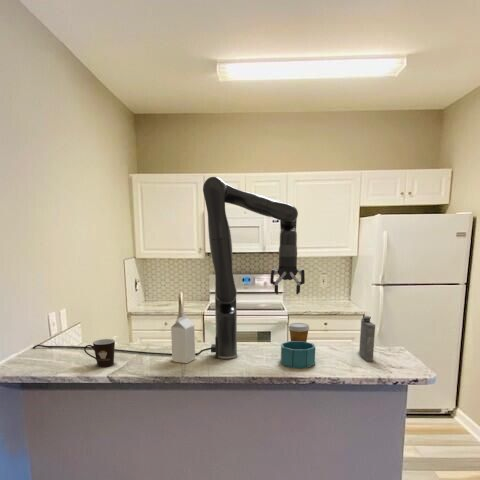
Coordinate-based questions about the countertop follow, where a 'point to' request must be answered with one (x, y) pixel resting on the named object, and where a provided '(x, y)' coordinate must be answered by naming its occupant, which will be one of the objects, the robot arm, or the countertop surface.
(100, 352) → the coffee mug
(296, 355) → the teal octagonal bowl
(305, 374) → the countertop surface
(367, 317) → the flask
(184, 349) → the milk carton
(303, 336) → the disposable coffee cup
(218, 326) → the robot arm
